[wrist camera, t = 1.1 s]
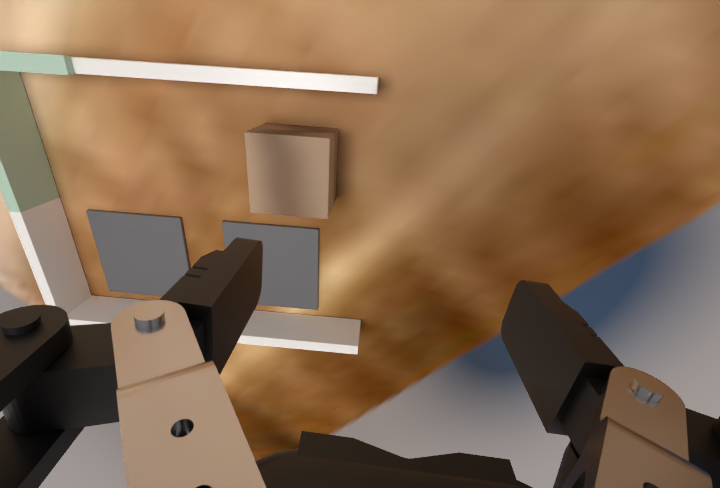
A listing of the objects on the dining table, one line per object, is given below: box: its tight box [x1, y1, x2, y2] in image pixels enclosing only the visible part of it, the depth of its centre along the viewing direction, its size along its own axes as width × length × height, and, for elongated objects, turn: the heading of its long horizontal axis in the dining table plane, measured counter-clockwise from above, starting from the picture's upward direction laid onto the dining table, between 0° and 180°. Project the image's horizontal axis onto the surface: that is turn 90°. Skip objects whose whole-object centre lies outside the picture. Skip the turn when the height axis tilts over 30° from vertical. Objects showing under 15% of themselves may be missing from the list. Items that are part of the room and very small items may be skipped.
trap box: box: [0, 51, 379, 354], centre depth 31 cm, size 30×24×5 cm
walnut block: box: [244, 123, 338, 219], centre depth 28 cm, size 6×6×5 cm
